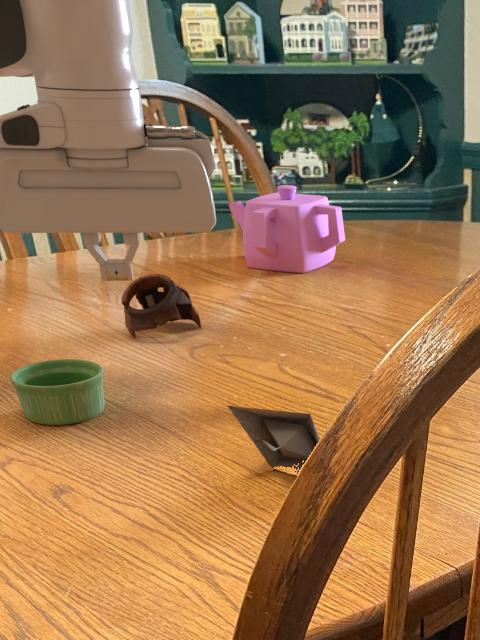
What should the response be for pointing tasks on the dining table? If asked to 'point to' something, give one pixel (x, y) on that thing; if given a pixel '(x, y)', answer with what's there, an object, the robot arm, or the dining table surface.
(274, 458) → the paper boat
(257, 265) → the teakettle
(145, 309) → the brown hollow shell
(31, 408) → the ramekin
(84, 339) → the dining table surface
